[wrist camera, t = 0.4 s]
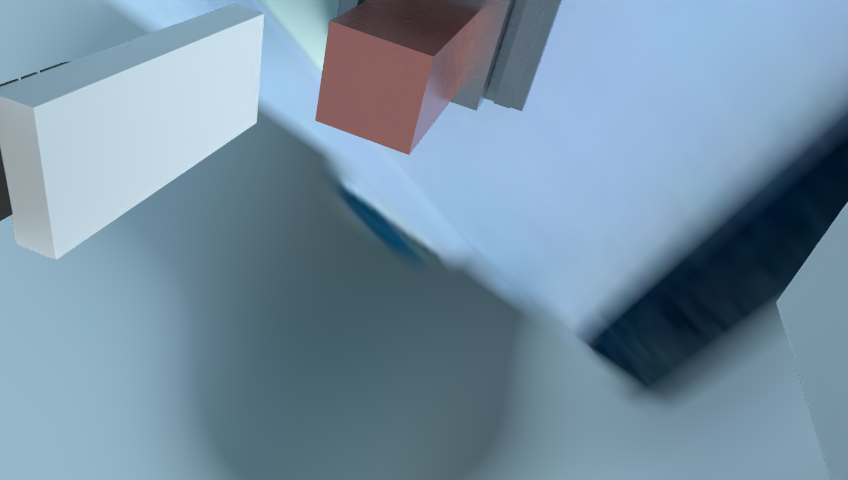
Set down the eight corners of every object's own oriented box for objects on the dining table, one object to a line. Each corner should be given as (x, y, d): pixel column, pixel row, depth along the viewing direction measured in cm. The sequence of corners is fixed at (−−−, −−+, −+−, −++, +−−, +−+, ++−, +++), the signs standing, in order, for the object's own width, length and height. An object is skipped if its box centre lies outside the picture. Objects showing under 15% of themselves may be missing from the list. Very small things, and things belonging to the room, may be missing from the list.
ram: (391, -79, 36) (306, -53, 27) (525, -36, 35) (482, 5, 26) (366, 58, 40) (286, 119, 31) (483, 99, 39) (435, 173, 31)
